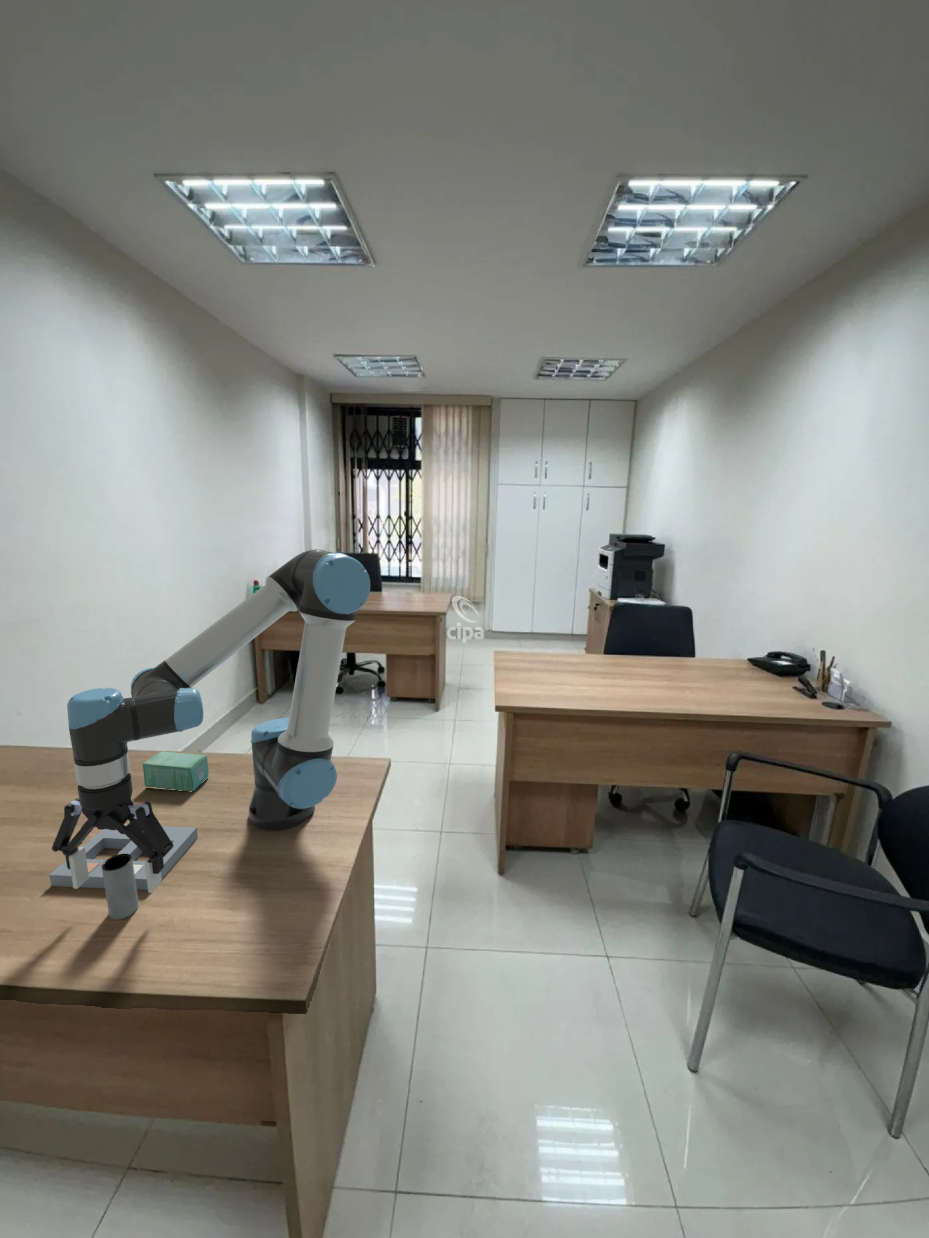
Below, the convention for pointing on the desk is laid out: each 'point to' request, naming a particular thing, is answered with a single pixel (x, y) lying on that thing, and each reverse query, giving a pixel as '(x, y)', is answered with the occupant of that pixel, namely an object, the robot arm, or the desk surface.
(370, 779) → the desk surface
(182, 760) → the box
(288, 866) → the desk surface
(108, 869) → the grey hollow cylinder
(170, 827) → the socket board
